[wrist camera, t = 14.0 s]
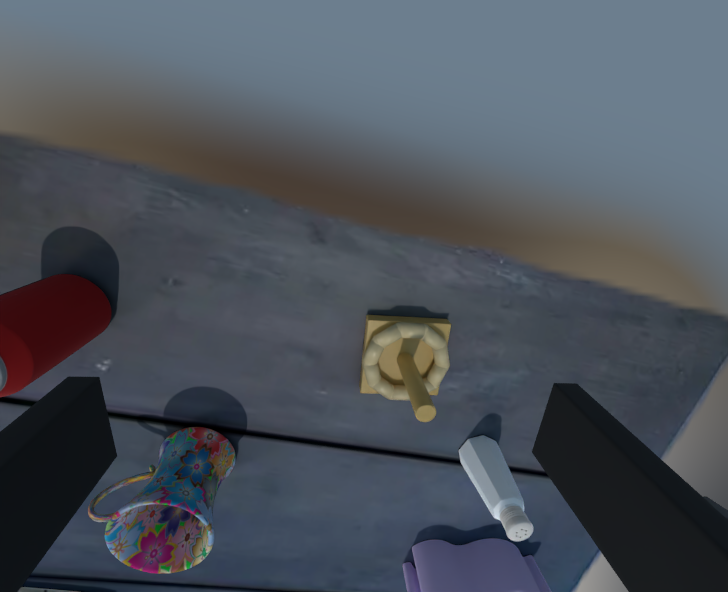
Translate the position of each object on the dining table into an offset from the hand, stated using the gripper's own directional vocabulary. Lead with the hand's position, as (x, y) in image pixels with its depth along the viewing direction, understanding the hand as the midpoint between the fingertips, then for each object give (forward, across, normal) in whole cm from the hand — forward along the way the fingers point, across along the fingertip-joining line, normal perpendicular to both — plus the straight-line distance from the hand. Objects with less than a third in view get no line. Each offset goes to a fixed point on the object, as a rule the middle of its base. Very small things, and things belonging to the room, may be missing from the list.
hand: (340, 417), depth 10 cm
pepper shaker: (+25, +20, -27) cm, 42 cm away
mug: (+25, -16, -26) cm, 40 cm away
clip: (+25, +23, -49) cm, 59 cm away
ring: (+23, +8, -12) cm, 27 cm away
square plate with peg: (+25, +8, -12) cm, 29 cm away
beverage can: (+26, -25, -8) cm, 36 cm away
